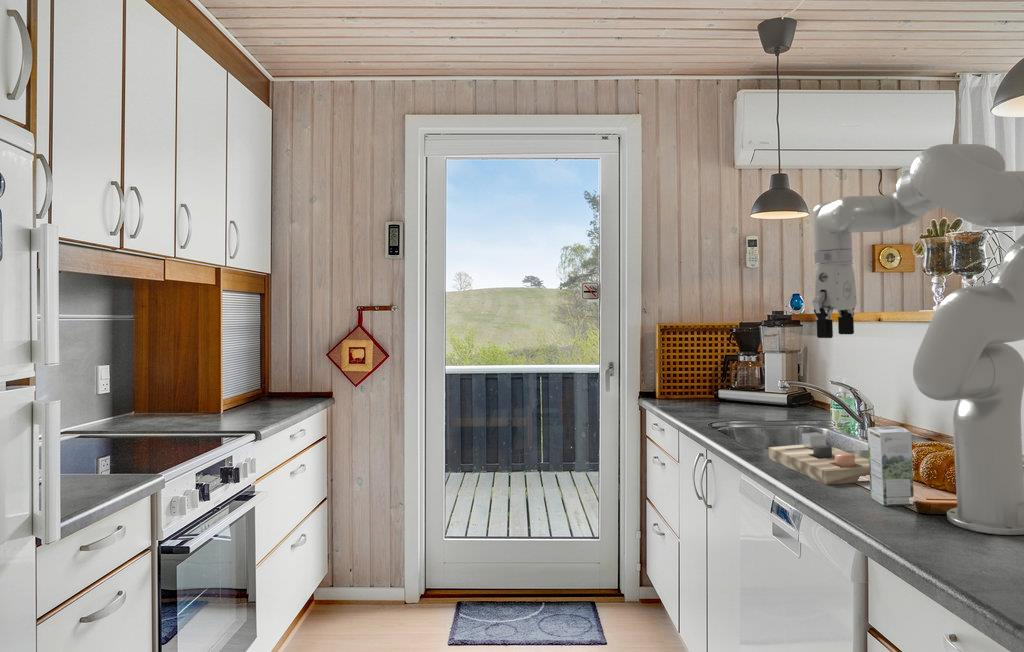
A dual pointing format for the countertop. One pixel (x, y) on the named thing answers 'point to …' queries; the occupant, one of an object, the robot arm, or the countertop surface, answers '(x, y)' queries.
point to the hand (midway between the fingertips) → (835, 336)
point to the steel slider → (813, 439)
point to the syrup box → (890, 465)
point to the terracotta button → (844, 460)
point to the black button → (822, 451)
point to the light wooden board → (818, 464)
